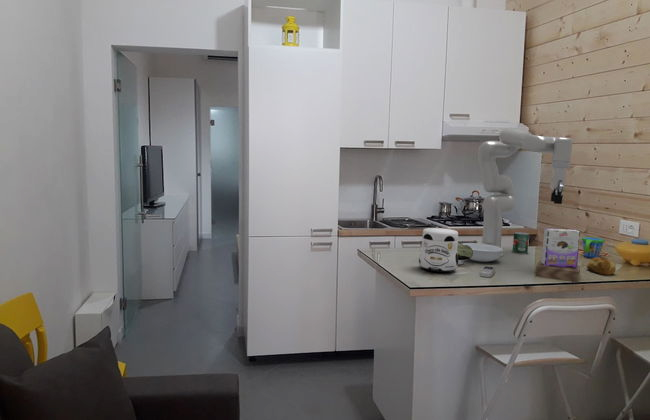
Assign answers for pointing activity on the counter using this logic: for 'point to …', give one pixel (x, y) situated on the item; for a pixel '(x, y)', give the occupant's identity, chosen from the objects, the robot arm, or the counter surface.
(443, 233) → the milk container
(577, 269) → the walnut block
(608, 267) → the bread roll
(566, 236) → the candy box
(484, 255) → the serving bowl
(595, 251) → the snack cup
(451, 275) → the counter surface
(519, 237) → the canned tomato
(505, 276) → the counter surface
